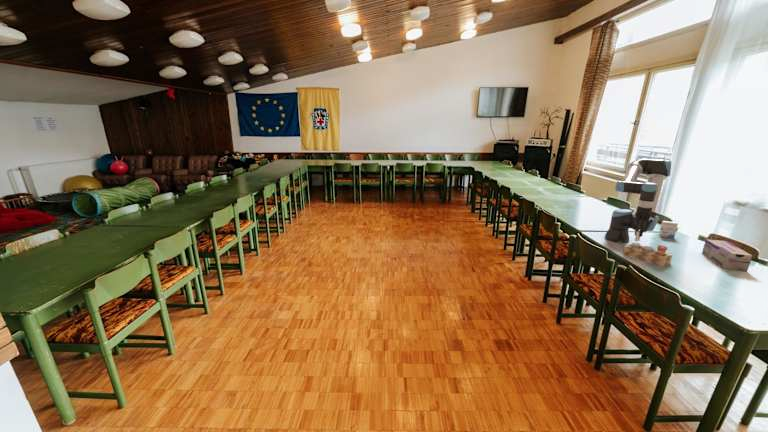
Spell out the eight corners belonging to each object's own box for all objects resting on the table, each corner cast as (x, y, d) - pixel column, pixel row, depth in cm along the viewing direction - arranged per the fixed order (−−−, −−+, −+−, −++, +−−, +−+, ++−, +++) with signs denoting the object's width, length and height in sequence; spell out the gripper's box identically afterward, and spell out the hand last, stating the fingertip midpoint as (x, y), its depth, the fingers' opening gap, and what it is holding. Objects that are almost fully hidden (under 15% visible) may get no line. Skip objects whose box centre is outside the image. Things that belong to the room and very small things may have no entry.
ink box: (672, 236, 244) (676, 221, 241) (674, 238, 240) (678, 223, 237) (658, 234, 249) (662, 220, 246) (659, 236, 245) (663, 221, 242)
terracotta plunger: (653, 257, 200) (656, 246, 198) (657, 255, 202) (660, 244, 200) (662, 259, 196) (665, 248, 194) (666, 258, 198) (669, 247, 196)
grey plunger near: (628, 253, 213) (630, 243, 211) (631, 252, 215) (634, 242, 212) (635, 256, 209) (638, 245, 207) (639, 254, 211) (642, 244, 209)
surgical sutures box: (701, 253, 213) (706, 239, 209) (722, 256, 209) (727, 241, 206) (723, 269, 190) (728, 253, 187) (746, 272, 186) (752, 255, 183)
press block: (622, 254, 213) (624, 246, 211) (630, 251, 217) (632, 243, 216) (662, 266, 194) (664, 257, 193) (670, 263, 199) (672, 254, 197)
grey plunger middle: (639, 257, 207) (642, 246, 205) (643, 255, 209) (646, 245, 207) (648, 259, 203) (650, 249, 201) (651, 258, 205) (654, 247, 203)
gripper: (630, 205, 206) (623, 238, 213) (654, 209, 195) (645, 244, 202) (636, 203, 209) (629, 236, 216) (660, 208, 198) (651, 242, 205)
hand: (637, 240), depth 209 cm, fingers closed
